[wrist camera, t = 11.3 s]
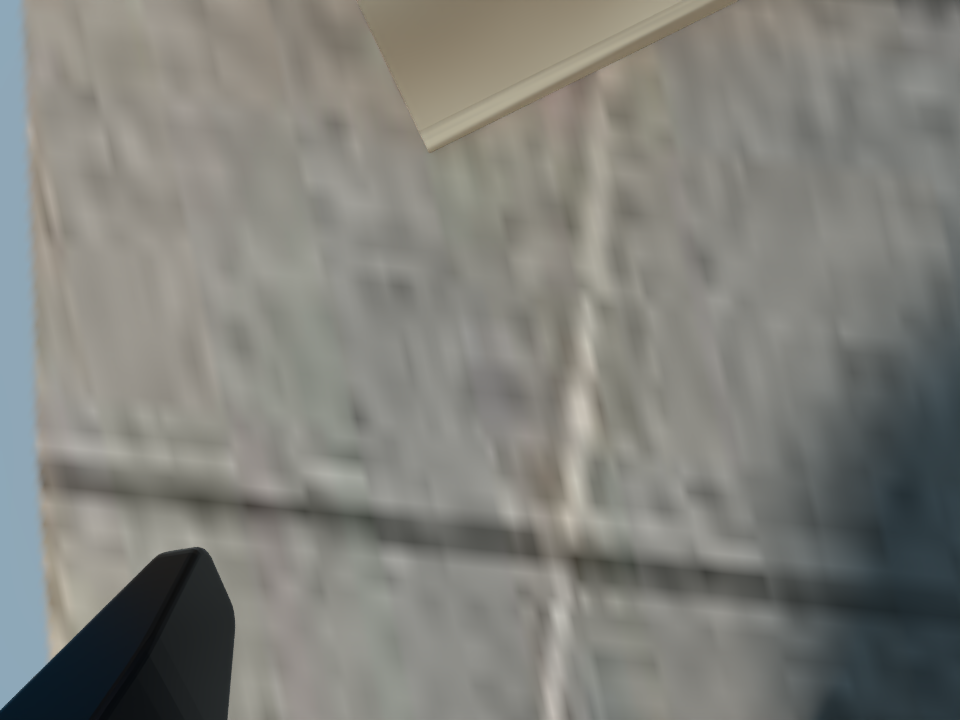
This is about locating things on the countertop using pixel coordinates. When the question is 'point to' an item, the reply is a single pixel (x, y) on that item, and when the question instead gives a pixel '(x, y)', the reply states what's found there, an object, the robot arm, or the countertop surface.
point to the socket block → (508, 51)
